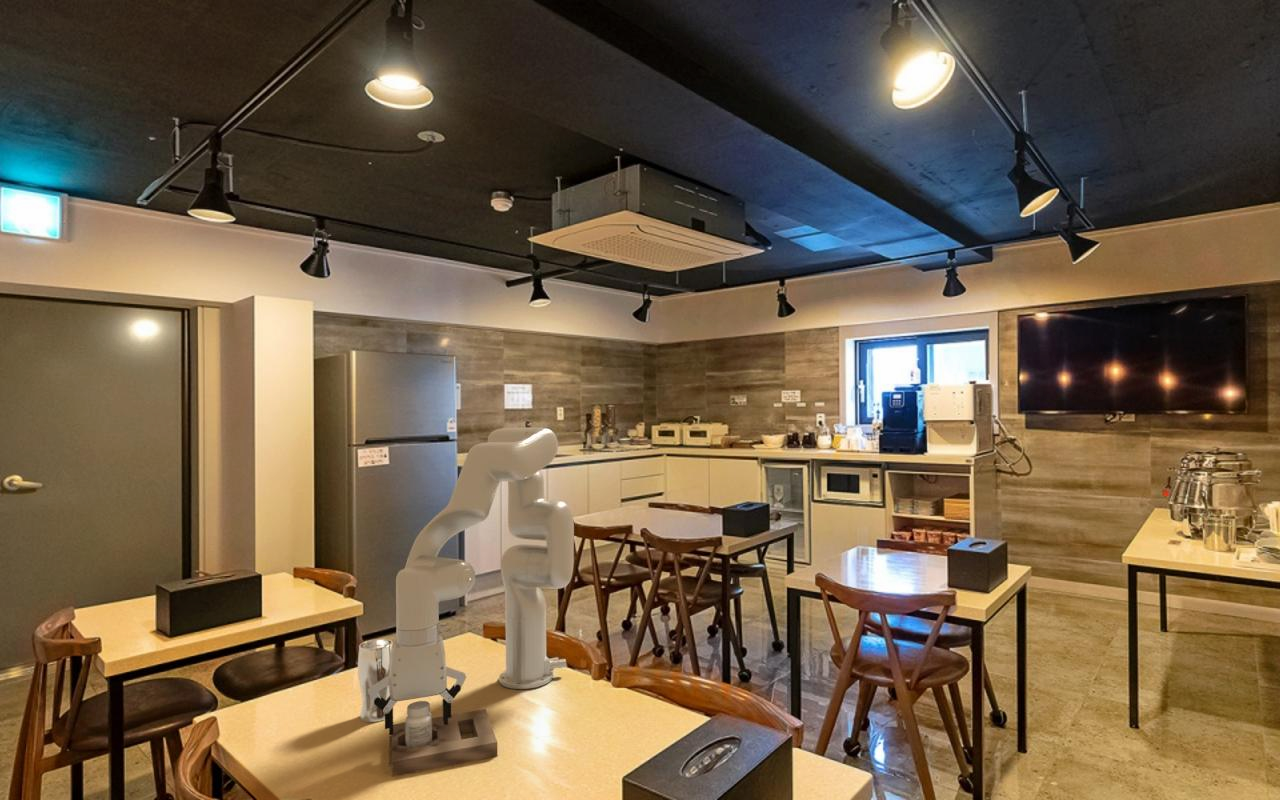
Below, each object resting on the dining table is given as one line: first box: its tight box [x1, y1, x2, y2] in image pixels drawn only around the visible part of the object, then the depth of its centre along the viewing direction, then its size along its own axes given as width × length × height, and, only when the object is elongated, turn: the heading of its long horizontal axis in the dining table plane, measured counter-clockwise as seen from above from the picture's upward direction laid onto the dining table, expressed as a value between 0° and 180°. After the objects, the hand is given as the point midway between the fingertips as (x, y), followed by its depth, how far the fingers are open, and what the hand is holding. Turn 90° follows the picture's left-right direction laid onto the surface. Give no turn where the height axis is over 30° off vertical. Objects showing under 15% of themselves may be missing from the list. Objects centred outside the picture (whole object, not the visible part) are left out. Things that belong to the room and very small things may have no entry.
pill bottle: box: [404, 700, 433, 748], centre depth 122 cm, size 5×5×8 cm
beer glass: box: [357, 638, 394, 723], centre depth 137 cm, size 7×7×15 cm
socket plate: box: [388, 708, 498, 777], centre depth 123 cm, size 18×15×2 cm
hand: (418, 726), depth 122 cm, fingers open, 9 cm apart
